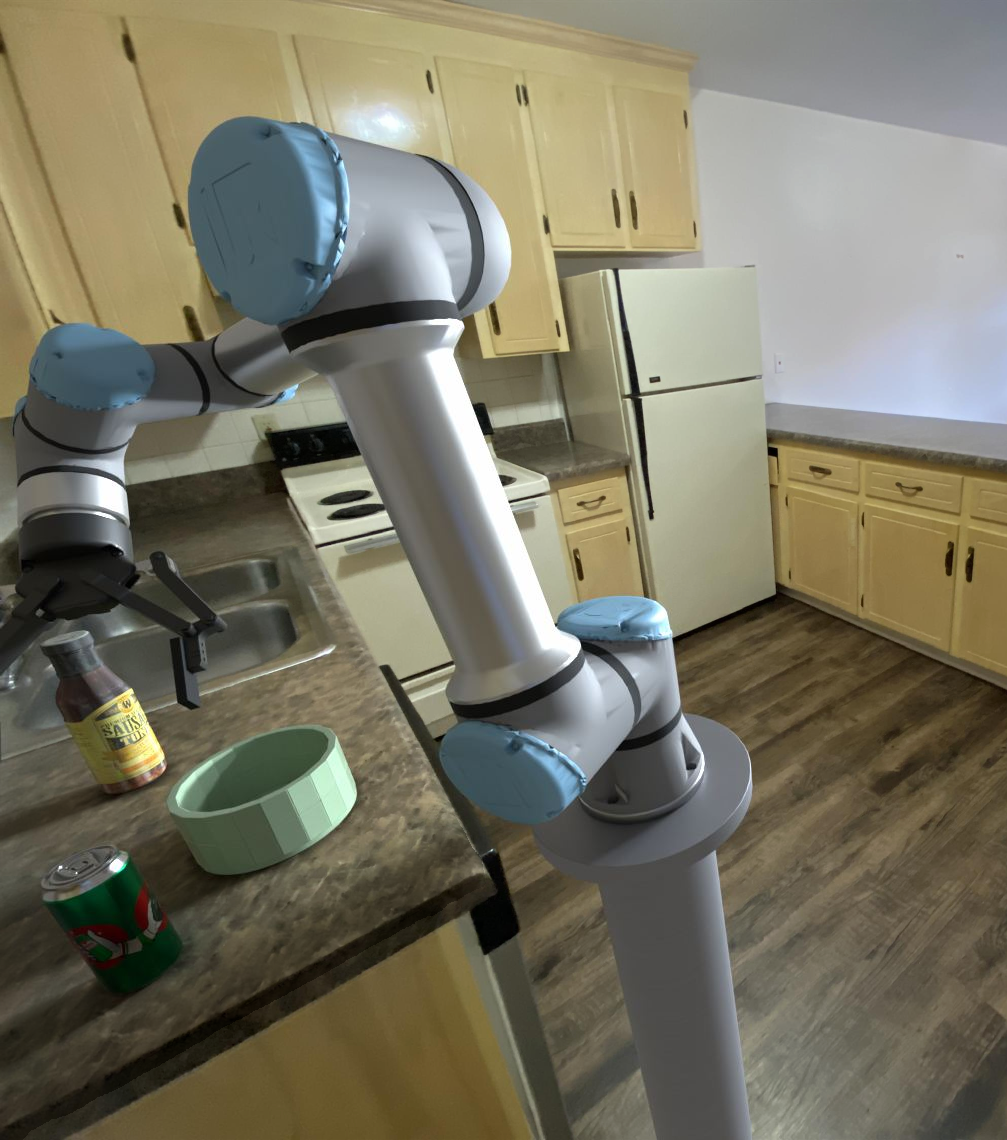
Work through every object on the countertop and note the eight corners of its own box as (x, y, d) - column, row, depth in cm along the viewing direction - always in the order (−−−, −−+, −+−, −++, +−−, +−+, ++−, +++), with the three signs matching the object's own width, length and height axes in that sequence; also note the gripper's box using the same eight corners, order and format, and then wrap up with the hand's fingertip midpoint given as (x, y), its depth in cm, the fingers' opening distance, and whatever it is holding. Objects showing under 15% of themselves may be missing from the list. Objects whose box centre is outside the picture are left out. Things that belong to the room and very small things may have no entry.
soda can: (166, 934, 56) (104, 833, 52) (198, 951, 54) (136, 849, 50) (94, 986, 52) (20, 882, 48) (126, 1007, 50) (52, 901, 46)
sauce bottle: (142, 794, 75) (60, 651, 67) (89, 799, 75) (1, 656, 67) (185, 758, 81) (114, 623, 73) (135, 763, 81) (59, 628, 73)
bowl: (358, 759, 78) (339, 710, 75) (355, 833, 66) (332, 778, 63) (213, 807, 72) (186, 755, 69) (181, 899, 60) (146, 840, 57)
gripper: (246, 522, 70) (276, 695, 64) (-76, 577, 59) (-78, 793, 53) (217, 485, 64) (248, 673, 57) (-148, 539, 53) (-162, 779, 46)
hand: (92, 731), depth 55 cm, fingers open, 13 cm apart
